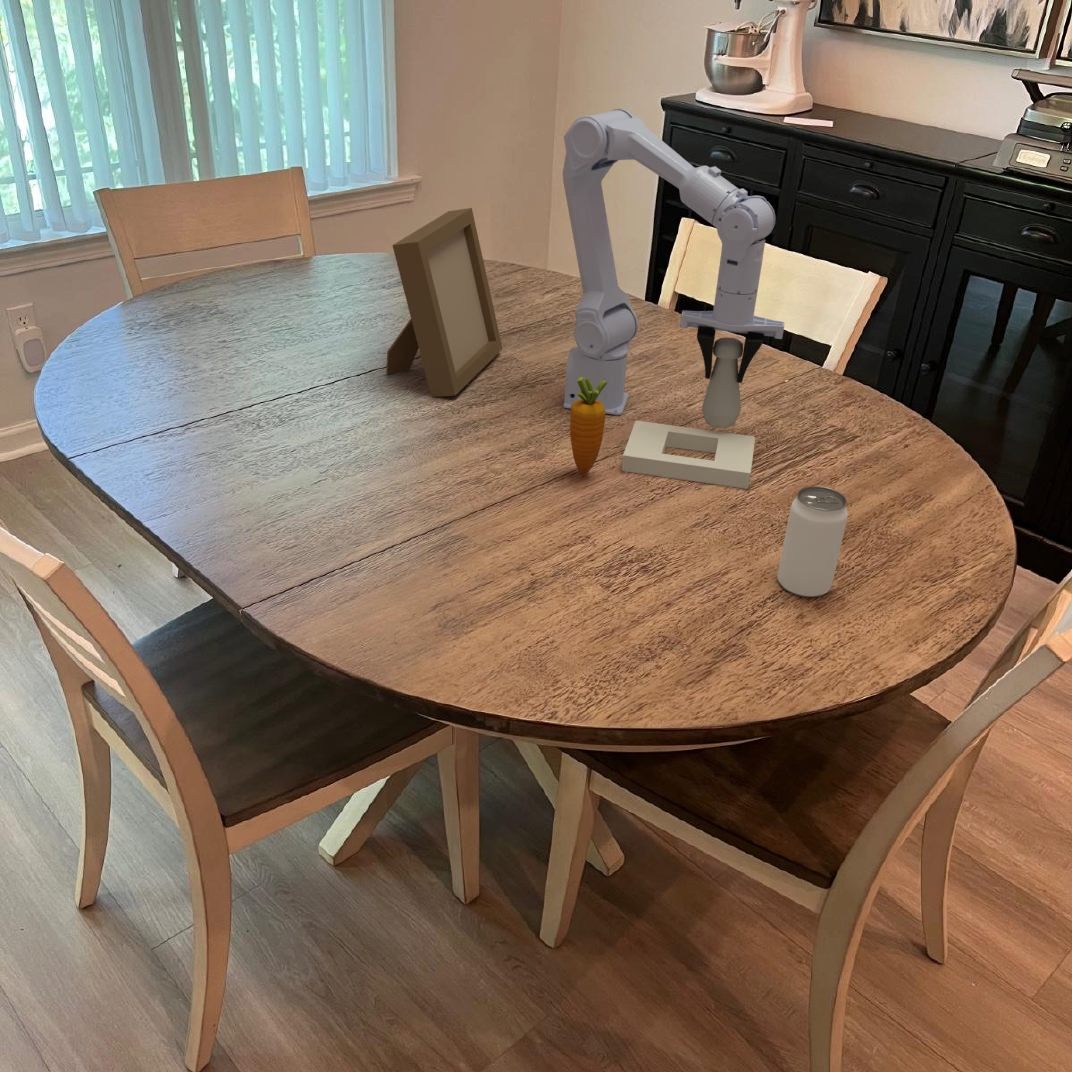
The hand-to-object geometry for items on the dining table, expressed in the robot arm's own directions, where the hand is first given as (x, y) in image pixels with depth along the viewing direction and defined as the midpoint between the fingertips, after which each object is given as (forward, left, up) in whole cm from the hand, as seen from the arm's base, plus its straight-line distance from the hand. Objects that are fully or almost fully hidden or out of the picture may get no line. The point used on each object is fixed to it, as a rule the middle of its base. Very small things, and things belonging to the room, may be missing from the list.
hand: (723, 378), depth 152 cm
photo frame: (-48, +13, -11) cm, 51 cm away
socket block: (-3, -8, -10) cm, 13 cm away
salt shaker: (0, 0, -7) cm, 7 cm away
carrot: (-17, -17, -11) cm, 26 cm away
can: (+14, -36, -11) cm, 40 cm away
